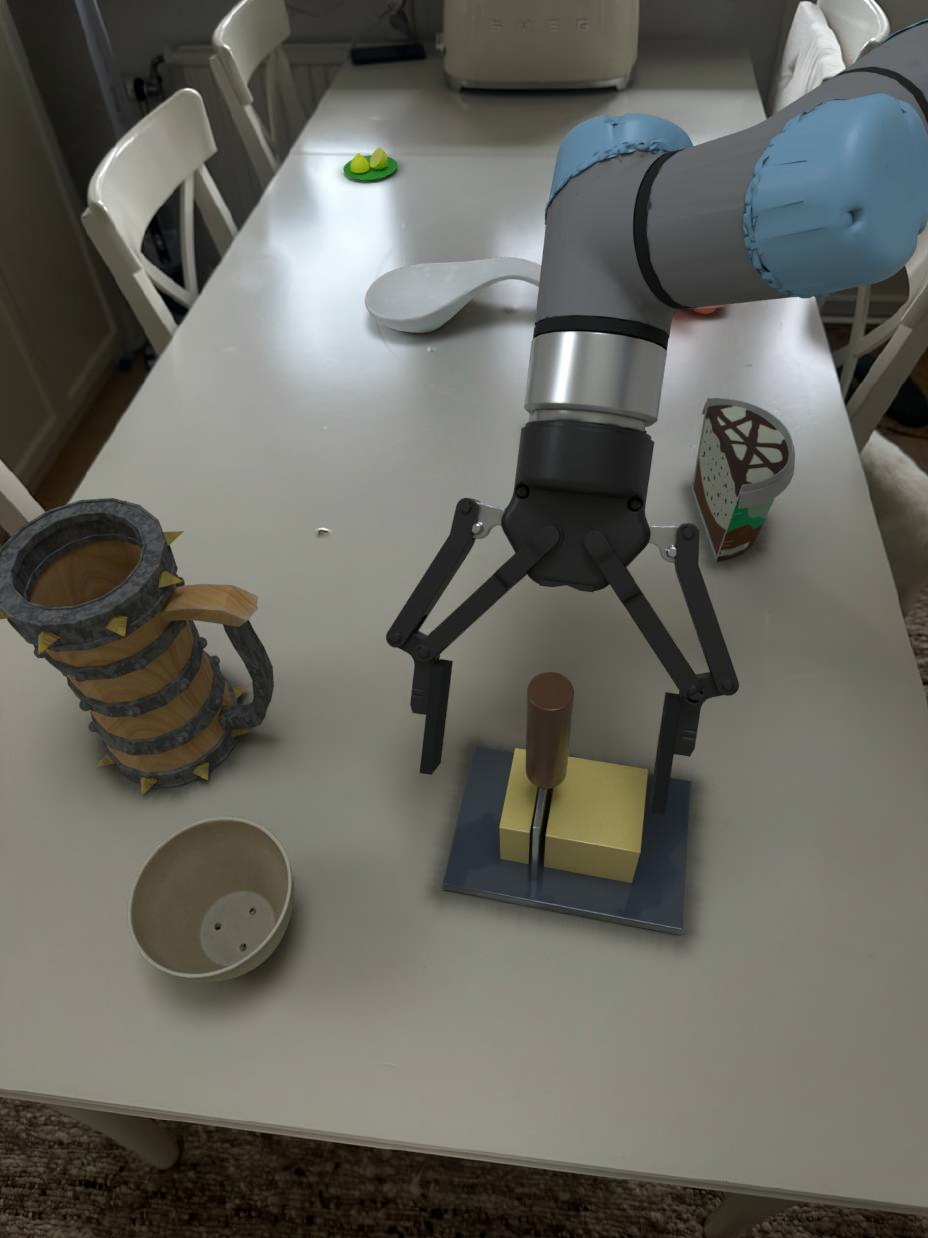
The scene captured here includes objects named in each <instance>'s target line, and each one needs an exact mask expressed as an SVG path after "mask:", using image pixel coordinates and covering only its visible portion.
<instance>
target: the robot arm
mask: <svg viewBox="0 0 928 1238" xmlns="http://www.w3.org/2000/svg"><path fill="white" fill-rule="evenodd" d="M555 160H556V161H555V165H554V170H553V176H552V181H551V187H550V191H549V197H548V201H547V202H546V204H545V208H544V225H545V227H544V238H543V246H542V255H541V264H540V265H541V272H540V281H539V287H538V292H537V299H536V309H535V316H534V317H535V318H534V328H533V334H532V340H531V342H530V343H531V345H530V351H529V360H528V361H529V362H528V368H527V370H528V371H527V377H526V386H525V396H524V404H523V409H525V410H526V412H527V413H528V414H529V415H530V414H531V415H534V416H533V421H531V422H529V421H528V422H526V423H525V424H524V426H523V427H521V428H520V436H519V444H518V446H519V447H518V452H517V460H516V463H517V464H516V470H515V478H514V486H513V493H512V496H511V499H510V501H509V502H508V504H507V506H506V507H505V508H503V507H500V506H499V507H498V506H494V505H490V504H487V503H482V502H481V501H480V500H479V499H476V498H471V497H462V498H460V499H459V500H458V501H457V503H456V505H455V510H454V514H453V519H452V522H451V528H450V532H449V534H448V536H447V538H446V539H445V541H444V543H443V544H442V545H441V547H440V548H439V550H438V552H437V553H436V555H435V557H434V559H433V560H432V561H431V563H430V564H429V566H428V567H427V569H426V570H425V572H424V574H423V575H422V577H421V579H420V580H419V582H418V584H417V585H416V587H415V588H414V590H413V591H412V593H411V594H410V596H409V597H408V598H407V601H406V602H405V604H404V605H403V607H402V608H401V610H400V612H398V615H397V617H396V618H395V620H394V621H393V622H392V624H391V625H390V627H389V629H388V631H387V632H386V635H385V640H386V644H388V646H390V647H392V648H393V649H394V648H395V649H396V648H397V649H399V650H401V651H403V652H405V653H407V654H408V655H409V656H410V657H411V658H412V660H413V674H412V675H413V677H412V682H411V683H412V685H411V694H410V700H409V701H410V702H409V705H410V709H411V713H412V714H416V715H422V716H425V720H424V729H423V738H422V747H421V755H420V763H419V771H418V772H419V774H425V775H428V776H429V775H430V776H432V775H433V774H434V773H435V772H436V770H437V769H438V768H439V766H440V765H441V764H442V757H443V749H444V740H445V731H446V725H447V715H448V705H449V698H450V689H451V680H452V674H453V673H452V672H453V663H454V661H453V660H450V659H444V658H441V655H442V654H443V652H444V651H445V650H446V649H447V648H449V646H451V645H452V644H453V643H454V642H455V641H456V640H457V639H458V638H460V636H461V635H462V634H464V633H465V632H466V631H467V630H468V629H469V628H470V627H471V626H472V625H474V623H476V622H477V621H478V620H479V619H480V618H481V617H482V616H483V615H485V614H486V612H487V611H488V610H490V609H491V608H492V607H493V606H494V605H495V604H496V603H497V602H498V601H500V600H501V599H502V598H503V597H504V596H505V595H506V594H507V593H508V592H509V591H511V590H512V589H513V588H514V587H515V586H516V585H517V584H518V583H519V582H521V580H523V579H524V578H525V577H526V576H527V577H528V578H529V579H530V580H532V581H533V582H534V583H536V584H538V586H540V587H546V588H557V587H570V588H572V589H573V590H577V591H579V592H587V593H594V592H598V591H602V590H604V589H606V588H607V587H608V586H610V587H611V589H612V591H613V592H614V594H615V595H616V597H617V599H618V600H619V601H620V603H621V604H622V605H623V607H624V608H625V610H626V612H627V613H628V615H629V616H630V617H631V619H632V621H633V622H634V623H635V625H636V626H637V628H638V630H639V632H640V633H641V635H642V636H643V637H644V639H645V641H646V643H648V645H649V646H650V648H651V649H652V651H653V652H654V655H655V656H656V657H657V659H658V660H659V662H660V663H661V665H662V666H663V669H665V671H666V672H667V674H668V676H669V677H670V679H671V680H672V682H673V683H674V686H675V687H676V689H678V693H675V692H669V691H665V693H664V700H663V705H662V713H661V719H660V726H659V732H658V740H657V746H656V753H655V760H654V767H653V772H652V775H653V779H652V786H651V793H650V805H651V812H652V813H658V814H664V815H665V809H666V802H667V796H668V789H669V782H670V778H671V775H672V767H673V762H674V755H675V756H683V757H687V758H688V757H689V758H691V755H692V754H693V752H694V751H695V748H696V743H697V737H698V730H699V722H700V718H701V717H700V716H701V709H702V707H703V704H704V703H705V702H706V701H707V700H709V699H712V698H716V697H721V696H722V697H723V696H726V697H730V696H734V695H735V694H736V693H738V691H739V688H740V682H739V679H738V675H737V673H736V669H735V666H734V663H733V661H732V659H731V656H730V655H731V654H730V653H729V650H728V647H727V644H726V641H725V638H724V635H723V632H722V629H721V626H720V623H719V620H718V617H717V614H716V612H715V609H714V605H713V603H712V600H711V597H710V593H709V590H708V588H707V585H706V582H705V579H704V576H703V573H702V571H701V568H700V563H699V562H700V529H699V528H698V527H697V525H695V524H694V523H690V522H685V523H681V524H679V525H650V524H649V522H648V519H647V515H646V505H647V498H648V491H649V483H650V478H651V477H650V476H651V469H652V463H653V454H654V448H655V441H654V440H652V435H650V434H648V433H647V430H646V428H648V427H651V426H653V425H655V424H656V423H657V421H658V420H659V412H660V405H661V398H662V392H663V391H662V390H663V385H664V378H665V377H664V376H665V370H666V364H667V363H666V362H667V356H668V347H669V346H668V345H669V339H670V337H671V331H672V325H673V324H672V322H673V318H674V317H673V316H674V311H683V310H693V309H695V308H699V307H707V306H717V305H726V304H727V305H733V304H742V303H743V304H744V303H753V302H762V301H770V300H771V301H772V300H780V299H789V298H800V299H811V298H813V297H814V298H821V297H822V298H823V297H828V296H830V295H833V294H835V293H837V292H841V291H845V290H850V289H855V288H859V287H863V286H864V287H865V286H869V285H870V286H871V285H874V284H878V283H880V282H883V281H885V280H887V279H889V278H891V277H892V276H894V275H896V274H897V273H898V272H900V270H902V269H903V268H904V267H905V266H906V265H907V263H908V262H909V261H910V260H911V259H912V257H913V256H914V254H915V252H916V250H917V246H918V237H919V236H920V235H921V234H923V232H924V231H925V229H926V227H927V224H928V18H925V19H922V20H920V21H917V22H915V23H912V24H909V26H906V27H904V28H901V29H899V30H897V31H895V32H893V33H892V34H890V35H888V36H887V37H885V39H884V40H883V41H882V42H880V43H879V44H878V45H877V46H875V47H874V48H873V49H871V50H870V52H868V53H867V54H865V55H863V56H862V57H861V58H859V59H857V60H856V61H855V62H853V63H852V64H850V65H848V66H847V67H845V68H844V69H842V70H841V71H840V72H838V73H836V74H835V75H833V76H832V77H831V78H829V79H827V80H825V81H824V82H823V83H821V84H819V85H818V86H816V87H815V88H813V89H811V90H810V91H807V93H805V94H804V95H802V96H800V97H799V98H798V99H795V100H793V102H790V103H789V104H788V105H786V106H785V107H783V108H782V109H780V110H778V111H777V112H775V113H773V114H772V115H771V116H768V117H767V118H766V119H765V120H763V121H761V122H759V123H757V124H755V125H752V126H749V127H748V128H745V129H743V130H739V131H736V132H733V133H729V134H727V135H724V136H721V137H718V138H715V139H712V140H708V141H706V142H703V143H699V144H695V145H694V144H693V142H692V140H691V137H690V136H689V134H688V133H687V132H686V131H685V130H684V129H683V128H682V127H681V126H679V125H678V124H676V123H674V122H672V121H670V120H668V119H665V118H662V117H659V116H656V115H651V114H647V113H638V112H637V113H635V112H627V113H625V114H623V115H622V116H613V115H608V114H602V115H598V116H595V117H592V118H589V119H586V120H584V121H582V122H580V123H578V124H577V125H575V126H574V127H573V128H572V129H571V130H570V131H569V132H568V133H567V134H566V135H565V136H564V137H563V139H562V141H561V142H560V144H559V147H558V152H557V153H556V159H555ZM727 305H726V306H727ZM498 526H501V530H502V531H503V533H504V535H505V537H506V539H507V541H508V543H509V544H510V546H511V548H512V550H513V551H514V554H512V555H511V557H510V558H508V560H506V561H505V562H504V563H503V564H502V565H501V566H500V567H498V569H497V570H495V572H494V573H493V574H491V576H490V577H489V578H488V579H487V580H485V581H484V582H483V583H482V584H481V585H480V586H479V587H478V588H476V590H475V591H473V593H472V594H471V595H469V596H468V597H467V598H466V599H465V600H464V601H463V602H462V603H461V604H460V605H459V606H457V608H455V609H454V610H453V611H452V612H451V613H450V614H449V615H448V616H447V617H446V618H445V619H444V620H443V621H442V622H440V623H439V624H438V625H437V626H436V627H435V628H434V629H433V630H432V631H431V632H429V633H428V635H427V634H426V633H423V632H421V631H420V629H421V628H422V626H423V625H424V624H425V622H426V621H427V619H428V617H429V616H430V614H431V613H432V611H433V610H434V608H435V606H436V605H437V603H438V602H439V600H440V599H441V597H442V595H443V594H444V593H445V591H446V589H447V588H448V586H449V585H450V583H451V581H452V580H453V579H454V577H455V576H456V574H457V573H458V571H459V569H460V568H461V566H462V565H463V563H464V562H465V560H466V559H467V557H468V555H469V554H470V552H471V551H472V549H473V547H474V545H475V542H476V540H482V539H485V538H487V537H488V536H489V535H490V533H491V531H492V529H494V528H495V527H498ZM649 544H652V545H655V546H656V547H657V548H658V550H659V553H660V556H661V558H662V559H663V560H664V561H665V562H668V563H673V564H674V571H675V574H676V578H677V581H678V583H679V584H678V585H679V586H680V590H681V593H682V595H683V598H684V601H685V605H686V607H687V611H688V613H689V615H690V619H691V622H692V625H693V627H694V630H695V633H696V636H697V639H698V642H699V645H700V648H701V651H702V654H703V656H704V660H705V662H706V665H707V668H708V671H705V672H702V673H696V672H695V671H694V669H693V668H692V666H691V665H690V663H689V662H688V660H687V659H686V657H685V655H684V654H683V653H682V650H681V649H680V648H679V646H678V644H677V643H676V642H675V640H674V639H673V637H672V635H671V634H670V632H669V631H668V630H667V628H666V626H665V625H664V623H663V622H662V620H661V619H660V616H658V614H657V612H656V611H655V609H654V608H653V606H652V604H651V603H650V602H649V600H648V599H647V597H646V596H645V594H644V592H643V591H642V590H641V588H640V586H639V585H638V583H637V581H636V580H635V578H634V577H633V575H632V574H631V572H630V571H629V569H628V566H630V564H631V563H632V562H634V560H635V559H636V558H637V557H638V556H639V555H640V554H642V552H643V551H644V550H645V549H646V548H647V546H648V545H649Z"/></svg>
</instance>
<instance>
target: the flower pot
mask: <svg viewBox="0 0 928 1238" xmlns="http://www.w3.org/2000/svg"><path fill="white" fill-rule="evenodd" d="M294 889H295V888H294V876H293V871H292V865H291V862H290V859H289V857H288V854H287V851H286V850H285V848H284V846H283V844H282V843H281V841H280V840H279V839H278V837H277V836H276V835H275V834H274V833H273V832H271V831H270V830H269V829H268V828H267V827H265V826H264V825H262V824H260V823H259V822H256V821H254V820H251V819H248V818H245V817H242V816H241V817H240V816H231V815H220V816H211V817H207V818H203V819H199V820H196V821H194V822H191V823H189V824H187V825H184V826H182V827H181V828H179V829H177V830H176V831H174V832H173V833H171V834H170V835H168V836H167V837H166V838H164V839H163V840H162V841H161V842H160V843H158V845H157V846H156V847H155V848H154V849H153V850H152V851H151V852H150V853H149V855H147V857H146V858H145V860H144V861H143V863H142V864H141V865H140V868H139V869H138V870H137V873H136V875H135V877H134V878H133V881H132V885H131V887H130V890H129V895H128V900H127V907H126V920H127V928H128V932H129V935H130V938H131V941H132V943H133V945H134V946H135V947H134V948H136V950H137V952H138V953H139V954H140V955H141V957H142V958H143V959H144V960H145V961H146V962H148V963H149V964H150V965H151V966H152V967H154V968H156V969H157V970H159V971H161V972H163V973H165V974H167V975H169V976H172V977H175V978H178V979H181V980H186V981H190V982H197V983H214V982H215V983H216V982H223V981H228V980H231V979H235V978H238V977H240V976H243V975H245V974H247V973H249V972H251V971H253V970H254V969H256V968H257V967H259V966H260V965H262V963H264V962H265V961H266V960H267V959H268V958H269V957H270V956H271V955H272V954H273V953H274V951H276V949H277V947H278V946H279V944H280V943H281V941H282V939H283V938H284V936H285V933H286V931H287V929H288V926H289V923H290V920H291V916H292V913H293V905H294ZM218 928H219V929H218ZM245 947H246V948H245Z"/></svg>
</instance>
